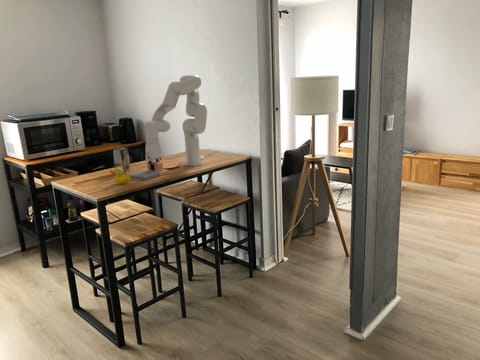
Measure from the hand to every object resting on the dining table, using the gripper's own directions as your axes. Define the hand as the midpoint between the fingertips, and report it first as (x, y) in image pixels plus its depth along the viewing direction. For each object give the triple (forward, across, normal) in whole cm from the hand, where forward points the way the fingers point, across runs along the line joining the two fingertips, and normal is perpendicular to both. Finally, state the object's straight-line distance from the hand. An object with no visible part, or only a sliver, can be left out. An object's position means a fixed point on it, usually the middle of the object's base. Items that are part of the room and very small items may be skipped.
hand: (155, 168), depth 254 cm
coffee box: (+3, +10, -20) cm, 22 cm away
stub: (+3, 0, 0) cm, 3 cm away
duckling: (+3, +28, 0) cm, 28 cm away
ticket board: (+3, +10, 0) cm, 11 cm away
